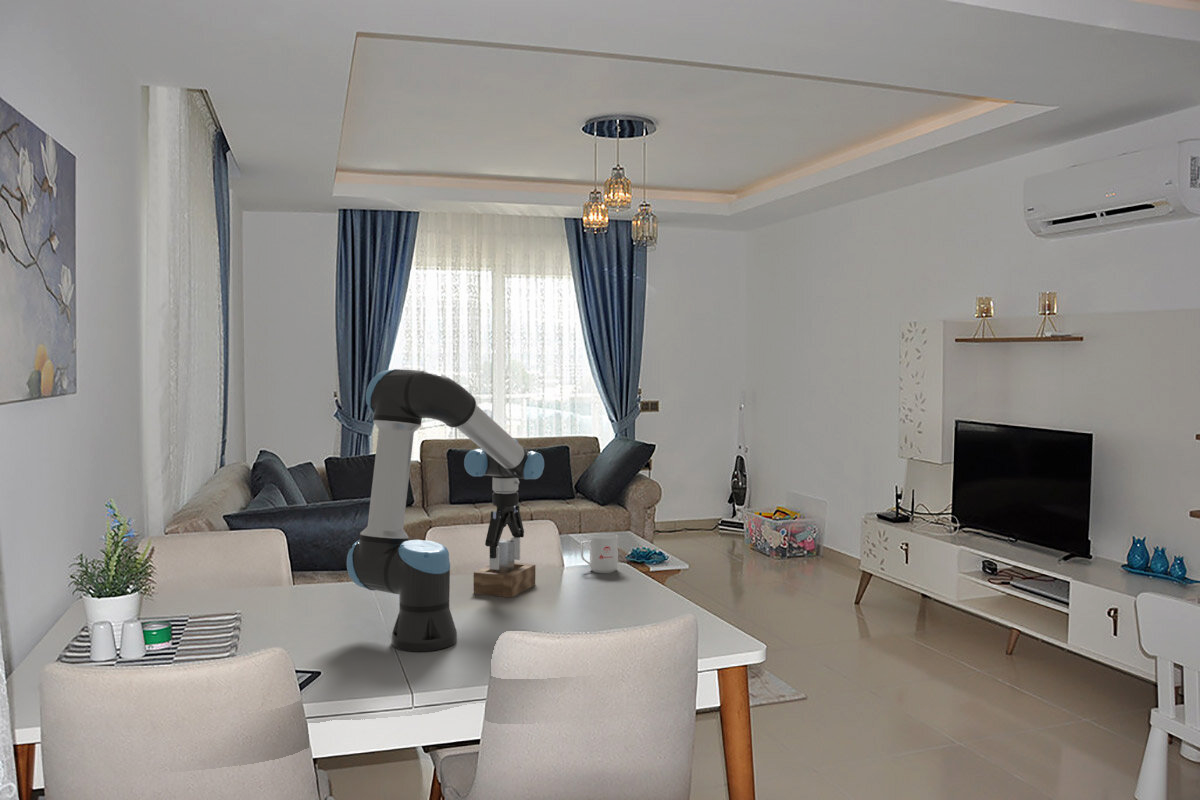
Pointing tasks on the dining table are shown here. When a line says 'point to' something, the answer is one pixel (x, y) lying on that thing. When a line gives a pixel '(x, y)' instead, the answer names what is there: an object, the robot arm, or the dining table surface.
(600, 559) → the mug
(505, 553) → the bracket
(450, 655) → the dining table surface
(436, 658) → the dining table surface
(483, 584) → the box
